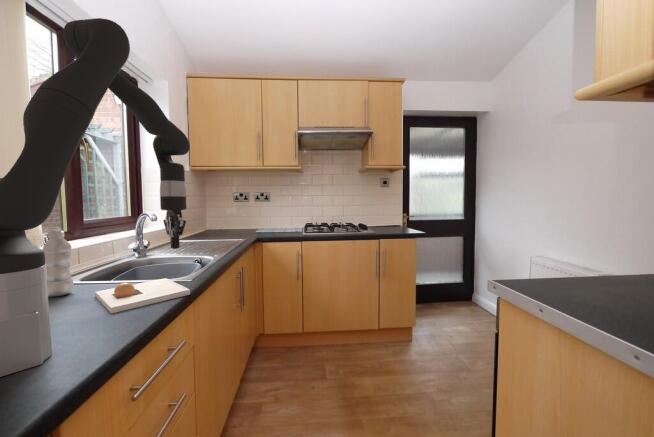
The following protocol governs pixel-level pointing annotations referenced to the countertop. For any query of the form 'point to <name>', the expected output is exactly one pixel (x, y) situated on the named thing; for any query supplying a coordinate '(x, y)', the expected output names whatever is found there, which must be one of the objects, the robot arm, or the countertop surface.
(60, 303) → the countertop surface
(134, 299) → the white square board
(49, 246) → the plastic bottle
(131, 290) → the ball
